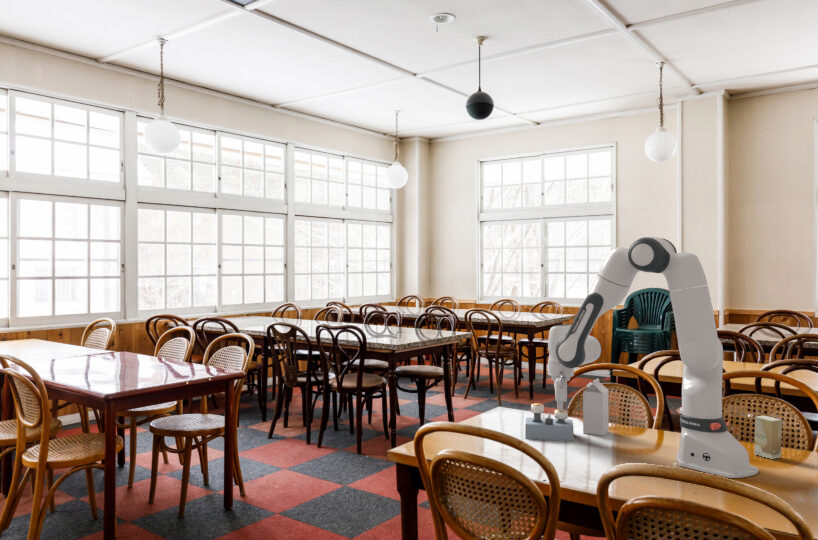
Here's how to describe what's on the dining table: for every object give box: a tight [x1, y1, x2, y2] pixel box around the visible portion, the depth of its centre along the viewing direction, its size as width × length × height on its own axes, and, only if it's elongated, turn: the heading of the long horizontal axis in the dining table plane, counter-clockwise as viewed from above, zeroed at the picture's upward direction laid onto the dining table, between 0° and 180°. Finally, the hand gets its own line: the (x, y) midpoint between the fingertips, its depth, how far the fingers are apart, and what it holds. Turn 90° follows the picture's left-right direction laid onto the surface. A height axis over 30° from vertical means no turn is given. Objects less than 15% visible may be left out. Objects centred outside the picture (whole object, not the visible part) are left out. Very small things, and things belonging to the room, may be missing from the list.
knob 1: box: [530, 402, 545, 423], centre depth 222 cm, size 4×4×8 cm
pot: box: [544, 413, 554, 425], centre depth 218 cm, size 3×3×3 cm
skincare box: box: [754, 415, 783, 460], centre depth 197 cm, size 6×4×12 cm
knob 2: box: [554, 408, 569, 424], centre depth 220 cm, size 4×4×8 cm
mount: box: [524, 417, 574, 442], centre depth 221 cm, size 16×10×5 cm, turn 78°
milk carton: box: [582, 377, 609, 437], centre depth 226 cm, size 7×7×19 cm
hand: (560, 409), depth 221 cm, fingers closed, pressing on knob 2
